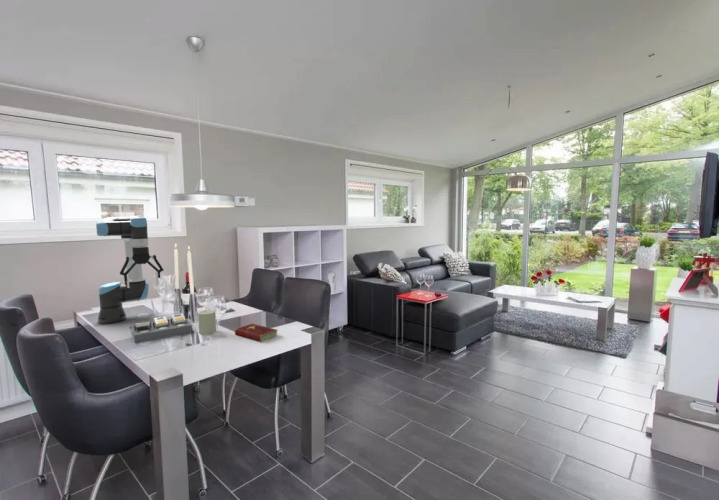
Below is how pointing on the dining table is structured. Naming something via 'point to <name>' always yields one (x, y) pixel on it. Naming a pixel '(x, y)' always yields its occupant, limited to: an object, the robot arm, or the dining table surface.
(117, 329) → the dining table surface
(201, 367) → the dining table surface
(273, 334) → the hardcover book
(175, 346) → the dining table surface
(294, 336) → the dining table surface
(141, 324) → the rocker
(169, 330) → the rocker switch panel
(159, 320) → the rocker middle
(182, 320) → the rocker
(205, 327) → the can
